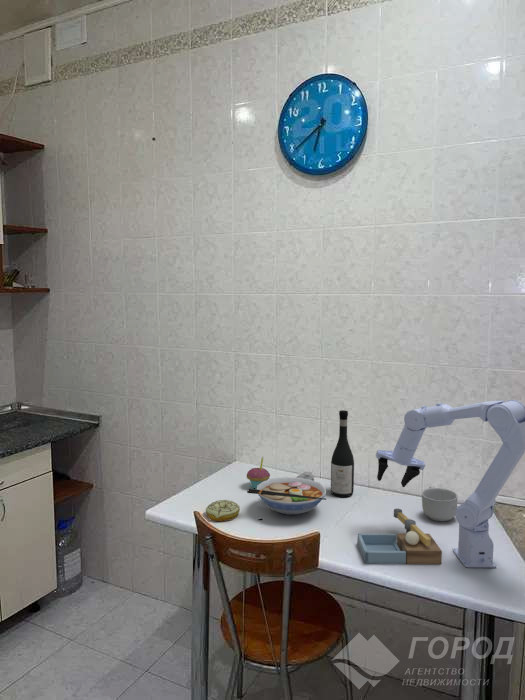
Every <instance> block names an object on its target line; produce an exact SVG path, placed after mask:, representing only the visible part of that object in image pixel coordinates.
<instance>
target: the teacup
mask: <svg viewBox="0 0 525 700" xmlns="http://www.w3.org/2000/svg"><path fill="white" fill-rule="evenodd" d="M458 498H459V495H458V493H456V492H455V491H454V490H451V489H448V488H443V487H435V486H434V485H430V486H429V487H428V488H426V489H423V490H422V491H421V505H422V511H423V512H424V514H425V515H426V516H427V517H428V518H429V519H431V520H432V521H435V522H436V521H437V522H448V521H450V520H452V519H453V518H455V511H456V508H457V507H458Z"/></svg>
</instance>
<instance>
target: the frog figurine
mask: <svg viewBox="0 0 525 700" xmlns="http://www.w3.org/2000/svg"><path fill="white" fill-rule="evenodd" d="M296 477H298V478H304V479H310V480H313V481H315V476H314V475H313V473H312V471H304V472H302V473H300V474H298V475H297V476H296Z"/></svg>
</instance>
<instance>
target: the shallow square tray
mask: <svg viewBox="0 0 525 700" xmlns="http://www.w3.org/2000/svg"><path fill="white" fill-rule="evenodd" d="M357 546H359V547H358V549H359V552H360V554H361V557H362V559H363V562H364V564H375V563H376V564H381V565H382V564H383V565H384V564H386V565H387V564H388V565H389V564H392V565H394V564H397V565H398V564H399V565H403V564H404V565H405V564H407V563H406V552H405V551H401V550H400V549H399V547H398V545H397V534H396V533H357ZM376 564H375V565H376Z"/></svg>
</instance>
